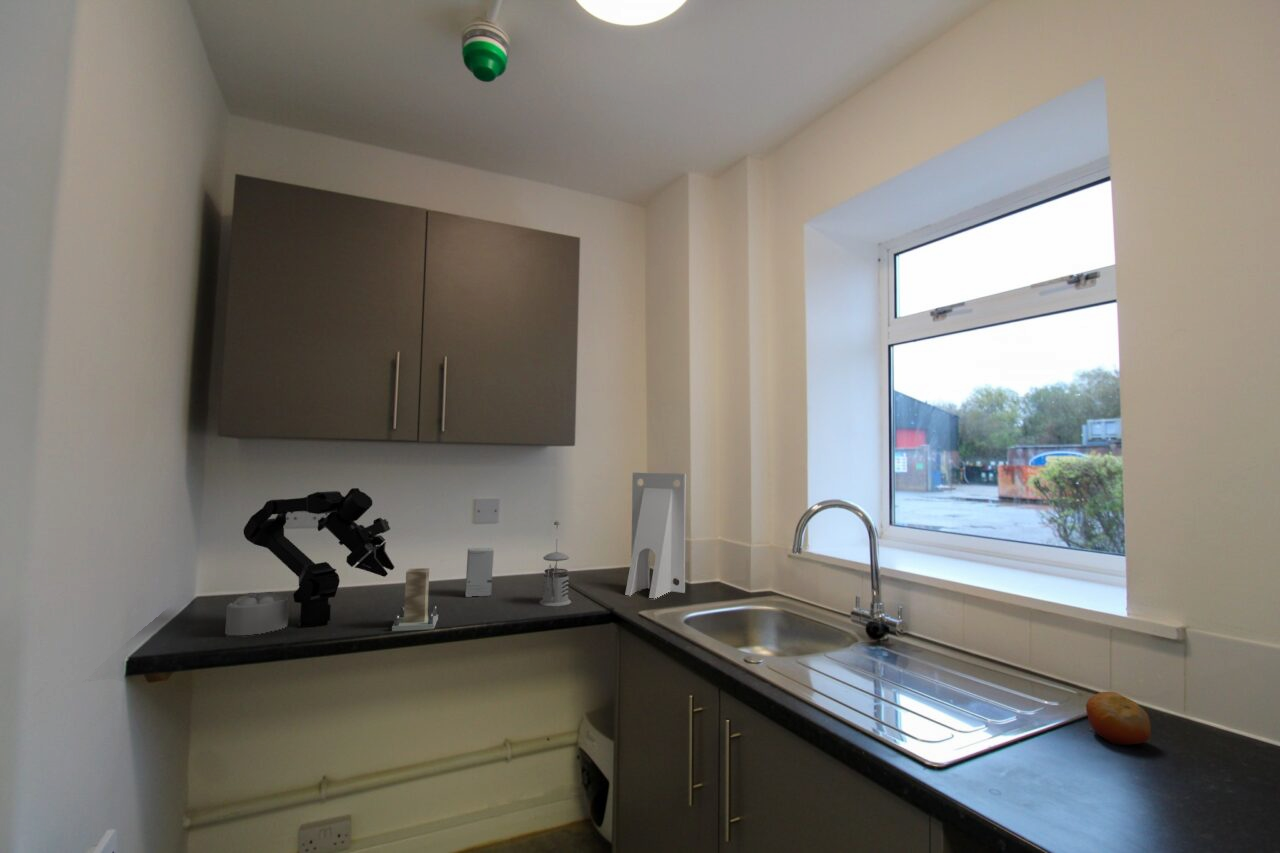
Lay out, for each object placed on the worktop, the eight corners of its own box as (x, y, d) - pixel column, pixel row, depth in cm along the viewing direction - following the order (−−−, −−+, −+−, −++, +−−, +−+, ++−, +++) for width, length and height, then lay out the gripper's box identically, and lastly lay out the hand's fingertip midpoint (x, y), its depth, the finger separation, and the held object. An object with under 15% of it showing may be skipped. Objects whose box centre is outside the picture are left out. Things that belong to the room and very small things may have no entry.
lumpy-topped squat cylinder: (292, 626, 149) (294, 592, 150) (238, 639, 138) (240, 602, 139) (270, 620, 154) (271, 588, 155) (215, 633, 143) (217, 597, 144)
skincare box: (465, 597, 183) (466, 550, 184) (465, 593, 189) (466, 547, 190) (492, 596, 186) (493, 549, 187) (491, 592, 191) (492, 546, 192)
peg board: (392, 631, 146) (392, 616, 147) (399, 620, 156) (399, 606, 156) (433, 629, 149) (434, 614, 149) (438, 618, 158) (438, 605, 159)
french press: (574, 599, 183) (575, 519, 185) (566, 608, 172) (567, 523, 173) (544, 597, 184) (545, 519, 186) (533, 606, 173) (535, 522, 174)
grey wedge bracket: (612, 594, 191) (614, 472, 194) (632, 586, 204) (633, 472, 206) (667, 601, 182) (669, 474, 185) (684, 592, 195) (685, 473, 198)
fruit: (1110, 714, 99) (1130, 682, 95) (1147, 759, 92) (1170, 727, 88) (1064, 714, 99) (1082, 682, 95) (1098, 759, 92) (1119, 727, 88)
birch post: (404, 623, 150) (406, 572, 150) (407, 617, 154) (409, 568, 155) (424, 622, 151) (426, 571, 151) (427, 617, 155) (429, 568, 156)
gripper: (362, 511, 144) (407, 555, 146) (378, 506, 162) (418, 545, 164) (326, 544, 142) (372, 588, 144) (346, 534, 160) (387, 573, 162)
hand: (389, 572), depth 154 cm, fingers open, 9 cm apart
